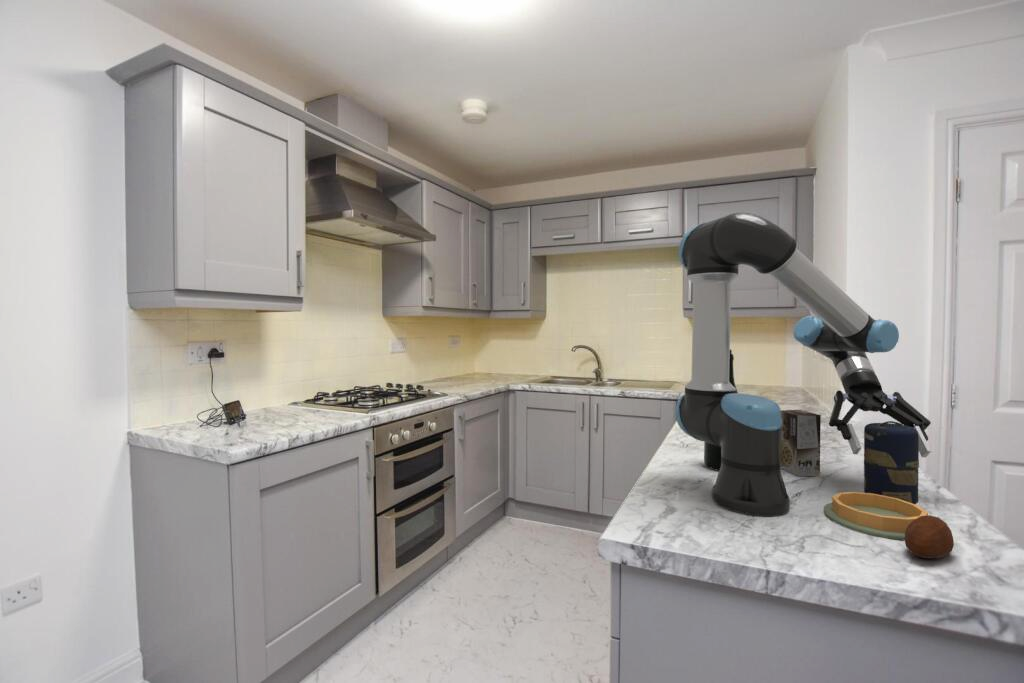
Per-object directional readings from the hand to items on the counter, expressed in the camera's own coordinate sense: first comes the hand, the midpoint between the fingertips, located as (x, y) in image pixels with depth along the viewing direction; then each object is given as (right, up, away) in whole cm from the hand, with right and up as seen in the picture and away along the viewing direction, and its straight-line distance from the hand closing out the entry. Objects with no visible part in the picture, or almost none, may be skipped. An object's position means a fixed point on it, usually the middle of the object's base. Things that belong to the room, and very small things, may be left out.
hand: (891, 452), depth 106 cm
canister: (-1, -11, -1) cm, 11 cm away
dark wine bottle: (-26, -10, +26) cm, 38 cm away
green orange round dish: (-12, -11, -12) cm, 20 cm away
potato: (-15, -11, -26) cm, 32 cm away
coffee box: (-8, -10, +22) cm, 26 cm away
